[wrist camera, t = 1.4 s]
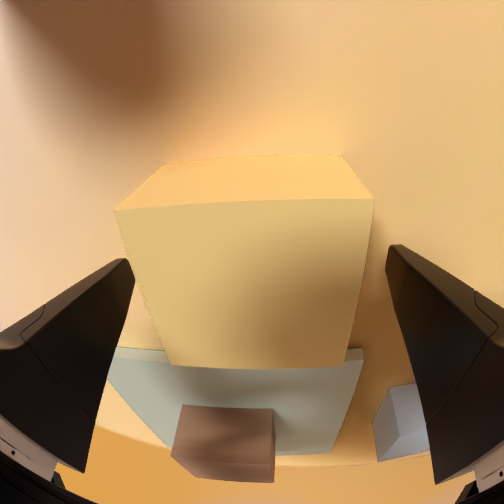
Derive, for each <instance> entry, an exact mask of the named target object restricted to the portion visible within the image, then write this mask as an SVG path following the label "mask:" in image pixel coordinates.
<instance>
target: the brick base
mask: <svg viewBox="0 0 504 504" xmlns="http://www.w3.org/2000/svg"><path fill="white" fill-rule="evenodd" d="M275 446H276V437H275V428H274V419H273V410H272V408H225V407H208V406H196V405H185V404H182V408H181V412H180V416H179V421H178V425H177V429H176V434H175V438H174V443H173V447H172V452H171V457H173V458H174V459H175V460H176V461H177V462H178V463H179V464H181V465H182V466H183V467H184V468H185V469H186V470H188V471H189V472H190V473H191V474H193V475H194V476H195V477H199V478H206V479H214V480H215V479H216V480H225V481H237V482H260V483H274V470H275Z"/></svg>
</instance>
